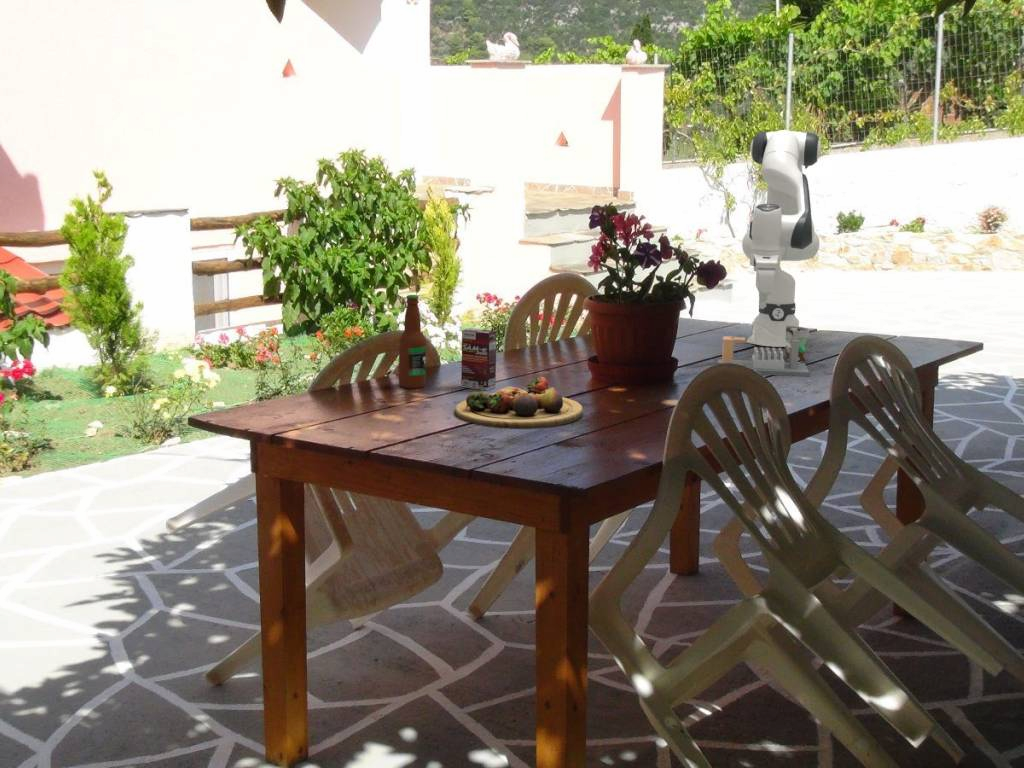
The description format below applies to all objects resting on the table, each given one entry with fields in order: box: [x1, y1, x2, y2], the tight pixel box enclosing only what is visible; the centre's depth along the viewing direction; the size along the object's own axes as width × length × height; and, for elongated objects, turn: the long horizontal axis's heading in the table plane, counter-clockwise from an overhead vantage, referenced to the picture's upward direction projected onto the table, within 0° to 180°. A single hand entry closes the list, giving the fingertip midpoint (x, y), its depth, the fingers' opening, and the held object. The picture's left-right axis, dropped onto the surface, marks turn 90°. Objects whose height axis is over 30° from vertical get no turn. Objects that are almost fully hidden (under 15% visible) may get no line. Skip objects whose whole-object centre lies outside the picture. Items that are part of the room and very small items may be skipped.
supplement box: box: [460, 327, 498, 391], centre depth 349 cm, size 9×5×16 cm, turn 62°
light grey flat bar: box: [752, 321, 792, 348], centre depth 382 cm, size 3×15×1 cm
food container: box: [784, 326, 810, 363], centre depth 400 cm, size 12×6×10 cm, turn 179°
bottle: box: [398, 294, 427, 389], centre depth 348 cm, size 7×7×25 cm
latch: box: [721, 336, 747, 363], centre depth 384 cm, size 6×6×8 cm
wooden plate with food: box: [454, 376, 584, 429], centre depth 318 cm, size 32×32×8 cm
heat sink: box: [717, 338, 810, 377], centre depth 383 cm, size 16×26×10 cm, turn 82°
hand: (762, 306), depth 380 cm, fingers open, 3 cm apart
